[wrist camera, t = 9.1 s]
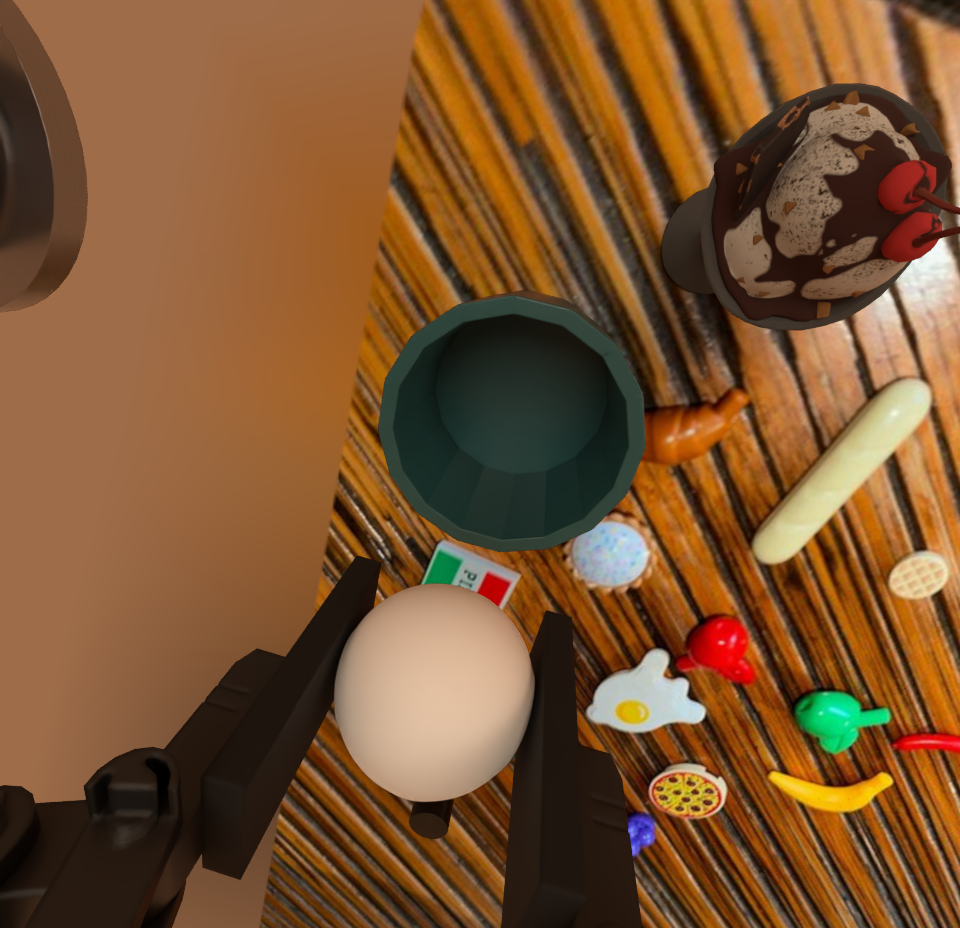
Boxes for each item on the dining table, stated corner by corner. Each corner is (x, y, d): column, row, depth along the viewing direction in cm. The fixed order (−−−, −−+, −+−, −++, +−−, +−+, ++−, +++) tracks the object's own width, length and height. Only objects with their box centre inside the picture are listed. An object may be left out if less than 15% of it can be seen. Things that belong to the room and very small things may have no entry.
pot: (414, 453, 30) (365, 515, 22) (447, 269, 26) (400, 266, 18) (583, 499, 30) (594, 578, 22) (647, 319, 25) (689, 338, 17)
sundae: (792, 287, 23) (1128, 299, 10) (655, 326, 25) (778, 383, 11) (781, 142, 21) (1190, -105, 8) (633, 194, 23) (750, 69, 9)
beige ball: (371, 652, 15) (292, 815, 11) (384, 528, 13) (295, 662, 9) (519, 690, 15) (503, 875, 10) (554, 568, 13) (555, 730, 8)
